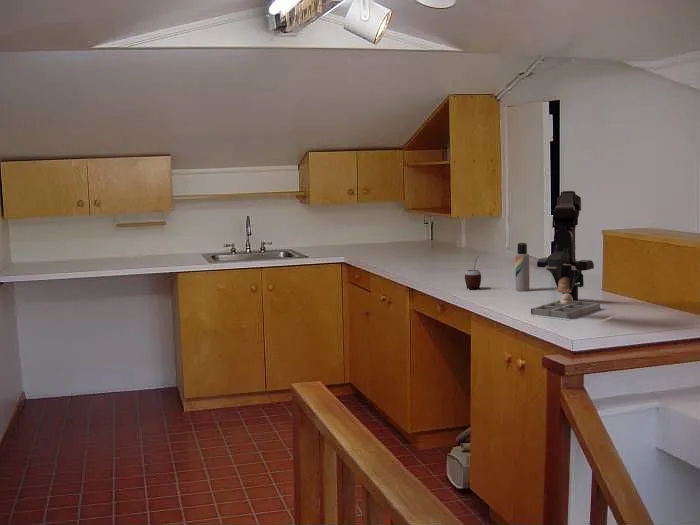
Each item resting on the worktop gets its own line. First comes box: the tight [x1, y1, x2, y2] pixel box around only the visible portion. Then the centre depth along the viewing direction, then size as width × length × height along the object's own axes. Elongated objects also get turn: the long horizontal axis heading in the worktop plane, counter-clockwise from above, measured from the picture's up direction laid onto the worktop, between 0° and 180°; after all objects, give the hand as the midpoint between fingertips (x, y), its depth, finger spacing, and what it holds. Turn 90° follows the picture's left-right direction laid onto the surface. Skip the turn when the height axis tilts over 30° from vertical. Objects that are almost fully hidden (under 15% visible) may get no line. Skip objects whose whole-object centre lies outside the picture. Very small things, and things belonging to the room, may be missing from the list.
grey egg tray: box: [530, 299, 601, 321], centre depth 284 cm, size 22×15×3 cm
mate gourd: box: [464, 255, 482, 291], centre depth 343 cm, size 8×8×15 cm
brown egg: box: [557, 277, 572, 293], centre depth 276 cm, size 4×4×5 cm
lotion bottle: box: [514, 242, 530, 292], centre depth 335 cm, size 6×6×20 cm
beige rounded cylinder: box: [559, 293, 573, 304], centre depth 292 cm, size 4×4×5 cm
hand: (564, 288), depth 276 cm, fingers closed on brown egg, 4 cm apart
